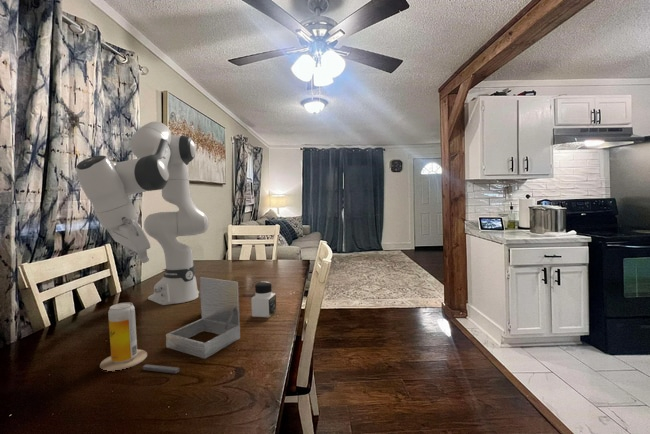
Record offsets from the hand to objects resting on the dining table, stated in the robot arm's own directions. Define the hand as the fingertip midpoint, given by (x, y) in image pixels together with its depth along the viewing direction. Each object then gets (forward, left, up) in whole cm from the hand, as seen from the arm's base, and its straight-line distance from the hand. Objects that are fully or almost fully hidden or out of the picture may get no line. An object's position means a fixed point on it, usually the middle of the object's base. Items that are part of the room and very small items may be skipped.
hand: (139, 258), depth 92 cm
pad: (+2, -7, -27) cm, 28 cm away
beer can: (+2, -7, -27) cm, 28 cm away
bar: (+16, -6, -27) cm, 32 cm away
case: (+14, +10, -27) cm, 32 cm away
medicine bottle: (+16, +37, -27) cm, 49 cm away
